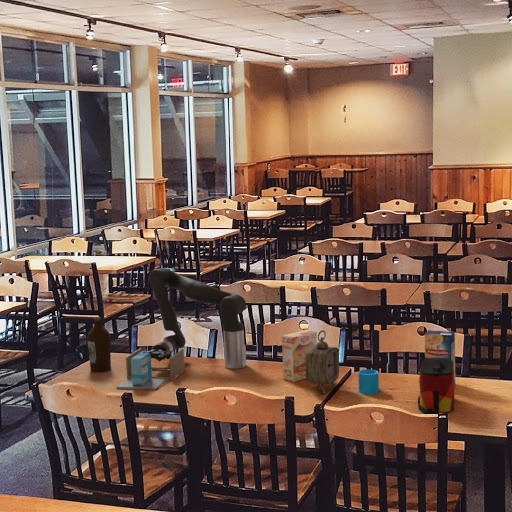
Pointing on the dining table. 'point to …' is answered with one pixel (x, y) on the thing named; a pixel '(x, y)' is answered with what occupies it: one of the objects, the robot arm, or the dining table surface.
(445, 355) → the beverage box
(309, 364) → the tabletop clock
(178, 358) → the bookend rack
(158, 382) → the board
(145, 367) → the data package
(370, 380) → the mug
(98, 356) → the olive oil
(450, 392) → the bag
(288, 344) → the coffeecake box
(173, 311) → the robot arm
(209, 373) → the dining table surface
